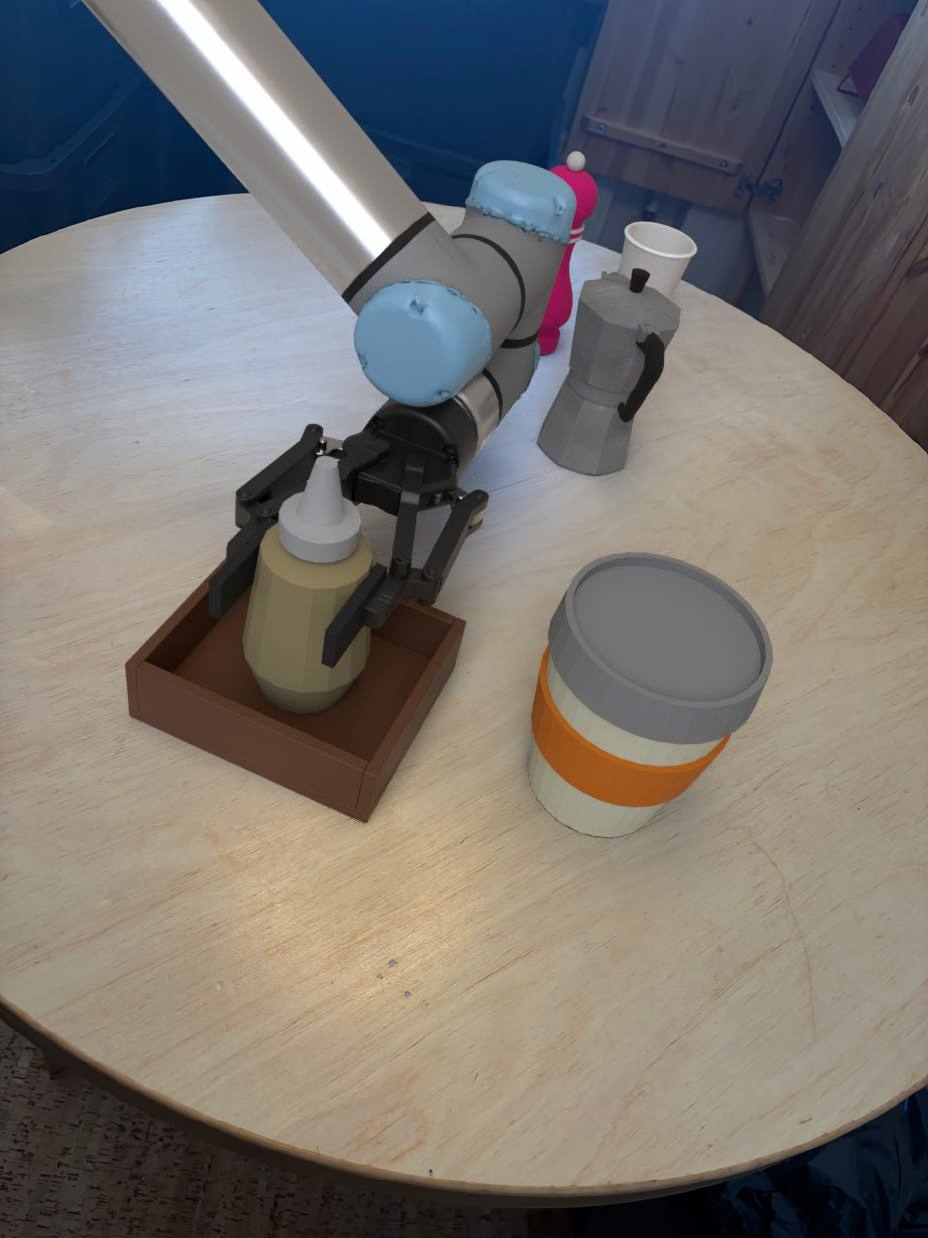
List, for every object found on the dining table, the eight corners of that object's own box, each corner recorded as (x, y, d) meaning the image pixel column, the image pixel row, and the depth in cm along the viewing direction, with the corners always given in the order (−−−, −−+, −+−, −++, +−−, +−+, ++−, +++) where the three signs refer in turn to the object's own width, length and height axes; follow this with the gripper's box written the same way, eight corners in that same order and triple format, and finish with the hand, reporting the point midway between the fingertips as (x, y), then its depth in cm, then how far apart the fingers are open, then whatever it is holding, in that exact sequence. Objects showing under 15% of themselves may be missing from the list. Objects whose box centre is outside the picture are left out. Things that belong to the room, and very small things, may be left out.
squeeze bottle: (217, 699, 61) (219, 474, 48) (277, 621, 67) (293, 402, 54) (331, 748, 60) (364, 531, 47) (382, 664, 66) (423, 451, 53)
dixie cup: (585, 309, 112) (610, 226, 105) (629, 296, 117) (655, 216, 110) (638, 344, 109) (667, 260, 102) (681, 329, 113) (712, 248, 107)
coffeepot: (521, 405, 95) (569, 227, 82) (609, 411, 97) (669, 240, 84) (556, 503, 84) (618, 318, 72) (654, 508, 87) (730, 329, 74)
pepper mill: (500, 317, 107) (544, 130, 93) (562, 333, 107) (615, 148, 93) (493, 348, 101) (538, 155, 88) (558, 364, 102) (614, 174, 88)
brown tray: (128, 716, 60) (124, 663, 56) (249, 581, 70) (251, 530, 67) (365, 824, 58) (375, 777, 54) (453, 669, 68) (467, 620, 64)
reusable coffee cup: (715, 847, 61) (819, 699, 51) (537, 878, 57) (611, 725, 47) (638, 697, 69) (715, 544, 59) (477, 716, 65) (529, 554, 55)
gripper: (542, 519, 70) (419, 736, 54) (308, 426, 73) (124, 605, 57) (569, 435, 65) (442, 646, 49) (316, 338, 68) (115, 508, 51)
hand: (271, 624), depth 53 cm, fingers closed on squeeze bottle, 6 cm apart
